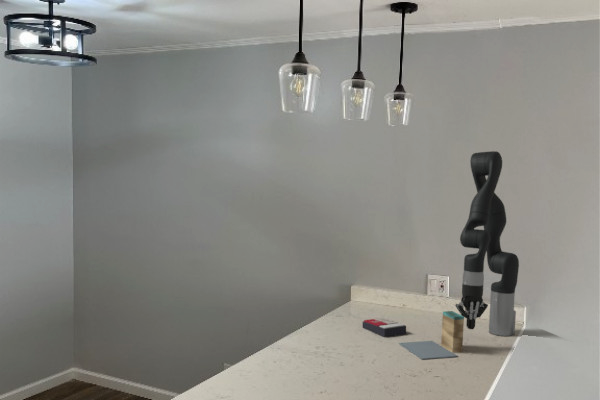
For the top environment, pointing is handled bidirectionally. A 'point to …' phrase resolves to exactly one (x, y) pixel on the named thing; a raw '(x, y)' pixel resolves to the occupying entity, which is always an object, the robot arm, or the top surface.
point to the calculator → (384, 327)
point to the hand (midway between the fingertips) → (470, 328)
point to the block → (452, 331)
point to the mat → (427, 350)
